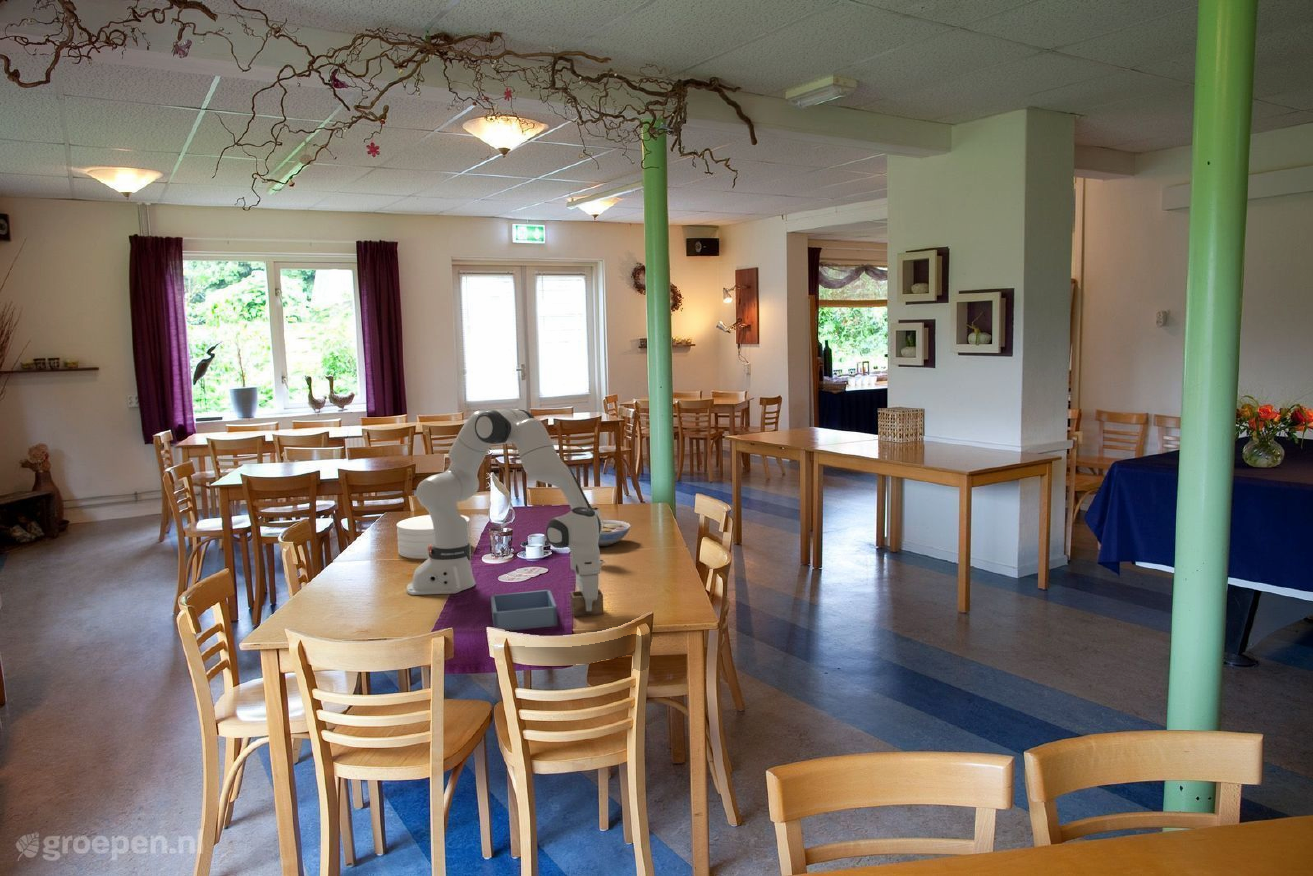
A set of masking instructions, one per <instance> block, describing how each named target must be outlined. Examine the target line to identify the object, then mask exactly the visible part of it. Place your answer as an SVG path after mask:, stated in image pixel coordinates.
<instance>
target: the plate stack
mask: <svg viewBox="0 0 1313 876" xmlns="http://www.w3.org/2000/svg"><path fill="white" fill-rule="evenodd" d="M460 515H461V516H462V517H464V518H465V519H466V521H467V526H468V543H469V544H470V549H471V548H472V544H471V541H472V540H471V539H472V538H471V525H470V522H471V521H470V517H468V516H466V515H463V514H460ZM396 529H397V531H396V533H397V534H396V535H397V548H398V551H397V552H398V553H397V554H398V555H400V556H401V557H404V558H410V559H428V558H429V551H428V547H429V545H433V546H434V545H435V540H434V528H433V523H432V519H431V516H430V514H426V515H425V514H424V515H419V516H414V517H409V518H406V519H403V520H400V521H398V522H397V523H396Z"/></svg>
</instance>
